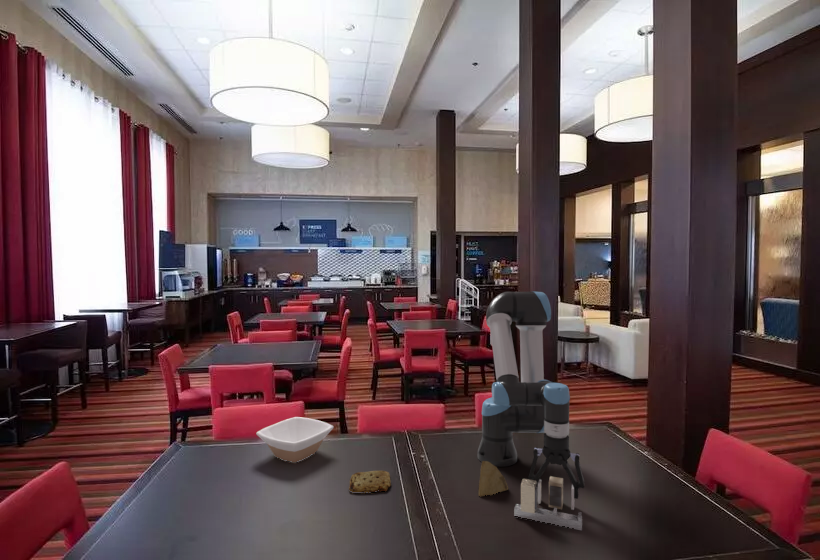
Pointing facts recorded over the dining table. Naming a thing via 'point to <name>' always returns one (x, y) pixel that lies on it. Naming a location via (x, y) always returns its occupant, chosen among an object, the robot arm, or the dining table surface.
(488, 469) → the rock
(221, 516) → the dining table surface
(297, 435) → the bowl
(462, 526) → the dining table surface
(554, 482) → the block
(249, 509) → the dining table surface
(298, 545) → the dining table surface
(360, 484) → the pastry
